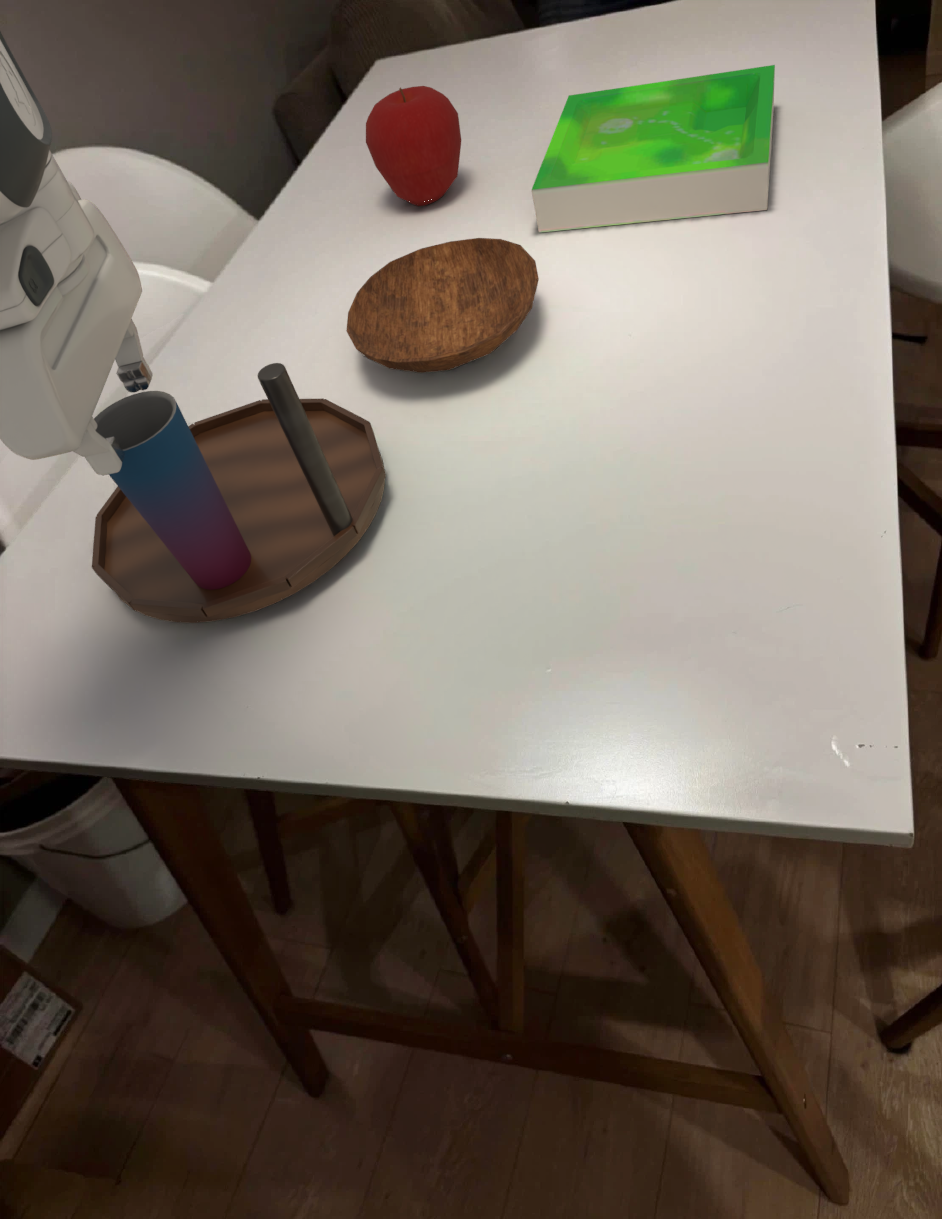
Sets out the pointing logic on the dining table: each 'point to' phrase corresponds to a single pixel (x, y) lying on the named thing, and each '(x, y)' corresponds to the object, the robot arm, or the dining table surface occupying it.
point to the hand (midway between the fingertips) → (128, 424)
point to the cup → (174, 487)
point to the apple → (415, 143)
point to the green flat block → (659, 152)
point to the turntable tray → (256, 506)
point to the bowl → (443, 304)
